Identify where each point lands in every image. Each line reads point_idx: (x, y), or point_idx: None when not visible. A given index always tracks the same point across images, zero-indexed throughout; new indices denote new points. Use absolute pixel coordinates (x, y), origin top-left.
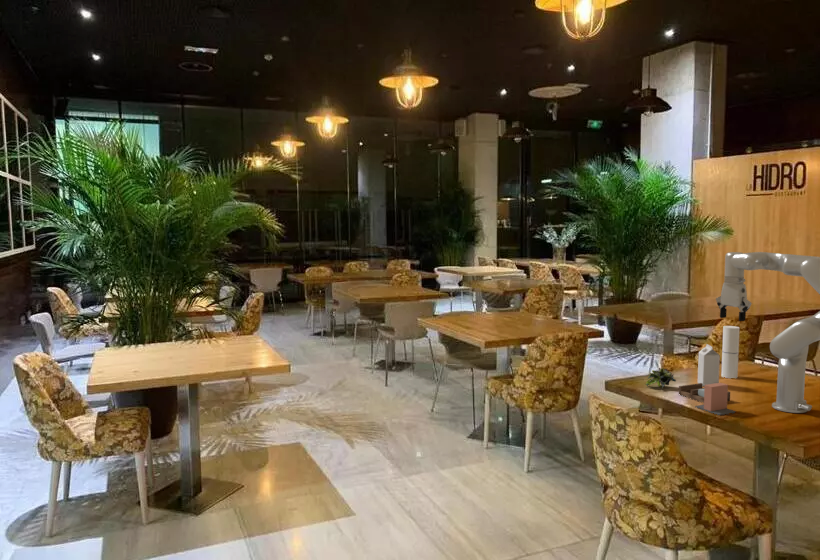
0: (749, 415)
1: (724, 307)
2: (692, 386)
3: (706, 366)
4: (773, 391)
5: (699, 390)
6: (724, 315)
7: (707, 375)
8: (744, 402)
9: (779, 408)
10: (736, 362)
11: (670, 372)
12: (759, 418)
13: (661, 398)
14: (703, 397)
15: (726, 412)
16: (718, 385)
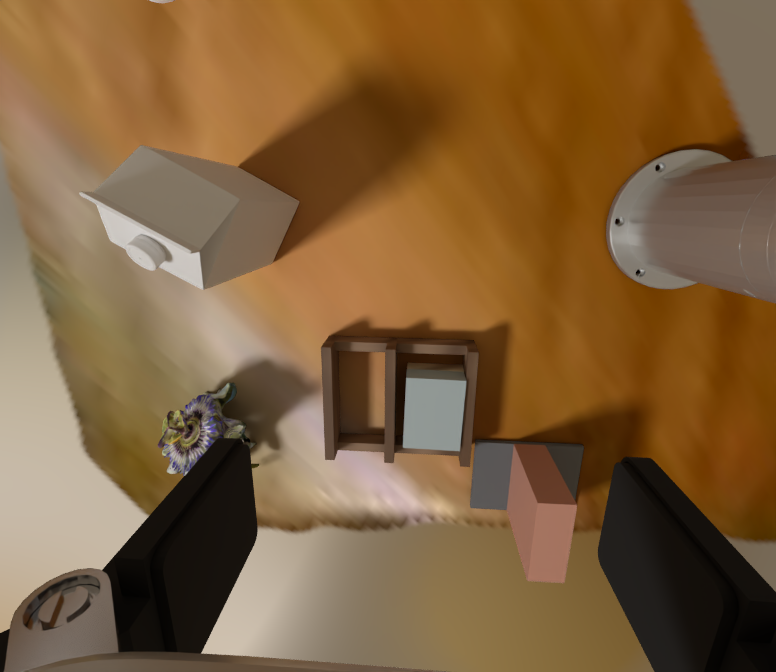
0: (626, 429)
1: (124, 647)
2: (333, 399)
3: (239, 265)
4: (466, 6)
5: (410, 447)
6: (238, 503)
7: (261, 253)
8: (516, 308)
9: (668, 288)
10: None
11: (217, 432)
12: (666, 428)
13: (343, 516)
14: None
15: (574, 482)
16: (563, 545)
